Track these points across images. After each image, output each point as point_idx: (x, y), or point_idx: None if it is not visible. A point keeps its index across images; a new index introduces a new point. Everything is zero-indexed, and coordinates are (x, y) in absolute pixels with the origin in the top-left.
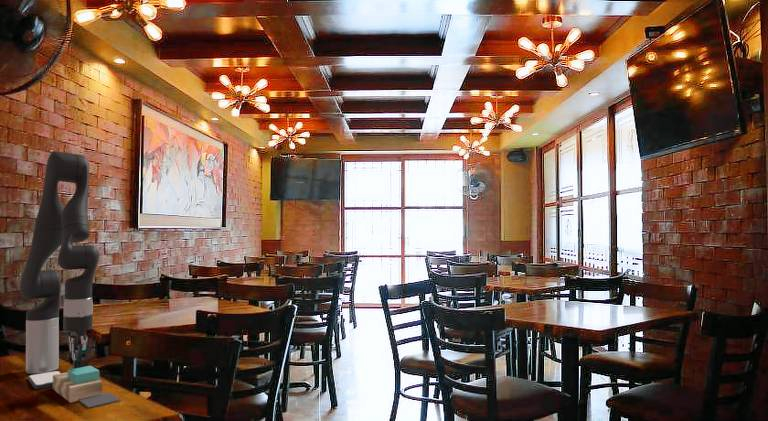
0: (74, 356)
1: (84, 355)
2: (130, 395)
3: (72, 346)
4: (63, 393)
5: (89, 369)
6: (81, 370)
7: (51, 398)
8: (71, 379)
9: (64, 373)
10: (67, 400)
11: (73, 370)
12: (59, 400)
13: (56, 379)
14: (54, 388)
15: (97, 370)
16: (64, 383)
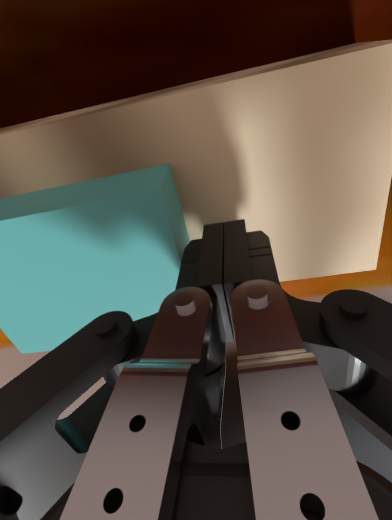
0: (170, 325)
1: (98, 397)
2: (8, 338)
3: (141, 474)
4: (72, 112)
5: (79, 318)
6: (73, 278)
7: (91, 28)
8: (65, 188)
9: (371, 150)
10: (4, 127)
11: (101, 231)
12: (23, 81)
13: (259, 73)
14: (304, 56)
15: (28, 347)
16: (15, 132)
